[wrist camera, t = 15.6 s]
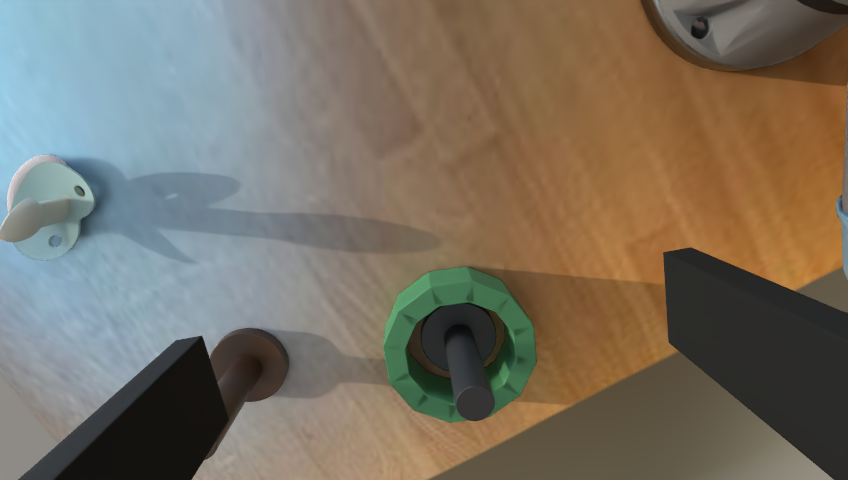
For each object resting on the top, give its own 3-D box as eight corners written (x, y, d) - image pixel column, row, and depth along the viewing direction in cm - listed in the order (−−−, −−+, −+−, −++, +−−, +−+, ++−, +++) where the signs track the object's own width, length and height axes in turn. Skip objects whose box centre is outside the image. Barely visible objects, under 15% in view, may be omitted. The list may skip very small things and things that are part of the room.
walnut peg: (280, 323, 36) (234, 392, 27) (295, 389, 38) (256, 478, 28) (205, 333, 36) (132, 407, 27) (223, 399, 38) (160, 492, 28)
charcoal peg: (489, 293, 37) (520, 352, 27) (497, 360, 38) (528, 439, 28) (416, 303, 36) (419, 366, 27) (426, 370, 38) (432, 453, 28)
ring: (517, 258, 36) (529, 272, 32) (528, 384, 39) (541, 410, 35) (377, 278, 36) (373, 294, 32) (398, 403, 38) (397, 430, 35)
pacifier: (1, 220, 34) (76, 262, 35) (-91, 237, 28) (3, 288, 28) (40, 135, 33) (117, 180, 33) (-48, 134, 26) (49, 189, 27)
